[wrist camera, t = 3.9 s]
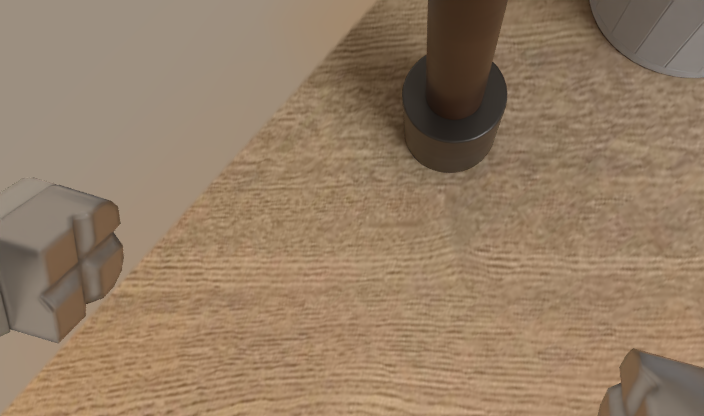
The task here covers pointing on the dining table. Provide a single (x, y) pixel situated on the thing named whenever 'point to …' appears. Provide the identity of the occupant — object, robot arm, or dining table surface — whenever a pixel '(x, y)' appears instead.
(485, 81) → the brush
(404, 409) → the dining table surface
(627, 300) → the dining table surface
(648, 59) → the gray cylindrical container
